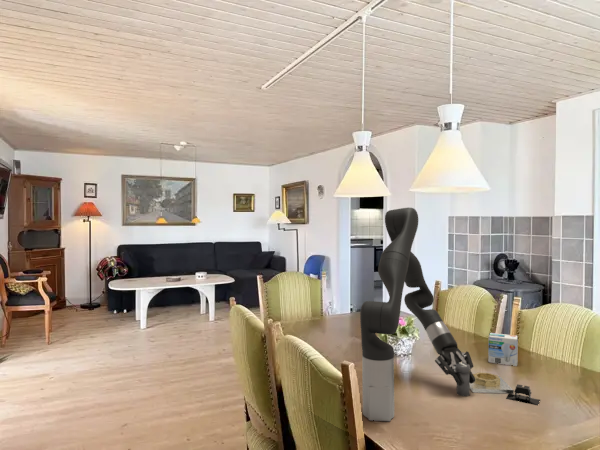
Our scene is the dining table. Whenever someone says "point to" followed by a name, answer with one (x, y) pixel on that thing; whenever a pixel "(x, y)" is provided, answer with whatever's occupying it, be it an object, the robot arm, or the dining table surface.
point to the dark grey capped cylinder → (464, 373)
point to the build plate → (521, 398)
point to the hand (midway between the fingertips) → (467, 383)
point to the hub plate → (489, 384)
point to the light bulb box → (503, 349)
